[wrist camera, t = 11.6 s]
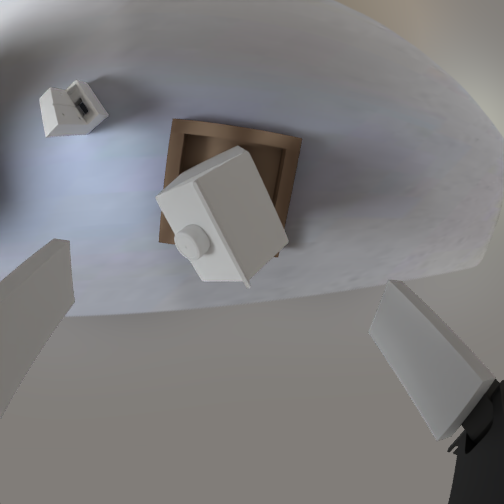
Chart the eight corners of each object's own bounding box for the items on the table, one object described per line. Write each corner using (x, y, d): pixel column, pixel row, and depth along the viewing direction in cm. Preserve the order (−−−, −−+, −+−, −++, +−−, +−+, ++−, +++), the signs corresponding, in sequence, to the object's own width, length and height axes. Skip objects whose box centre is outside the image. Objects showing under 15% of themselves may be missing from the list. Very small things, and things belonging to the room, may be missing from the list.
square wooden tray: (163, 233, 37) (158, 242, 34) (177, 120, 32) (172, 118, 29) (274, 248, 39) (278, 257, 36) (295, 138, 34) (302, 138, 31)
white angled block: (97, 163, 30) (45, 137, 22) (79, 110, 32) (37, 83, 23) (120, 143, 30) (71, 111, 21) (99, 92, 32) (58, 60, 23)
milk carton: (238, 144, 33) (254, 153, 16) (263, 199, 36) (302, 264, 18) (182, 171, 34) (138, 211, 16) (209, 224, 36) (197, 310, 19)
